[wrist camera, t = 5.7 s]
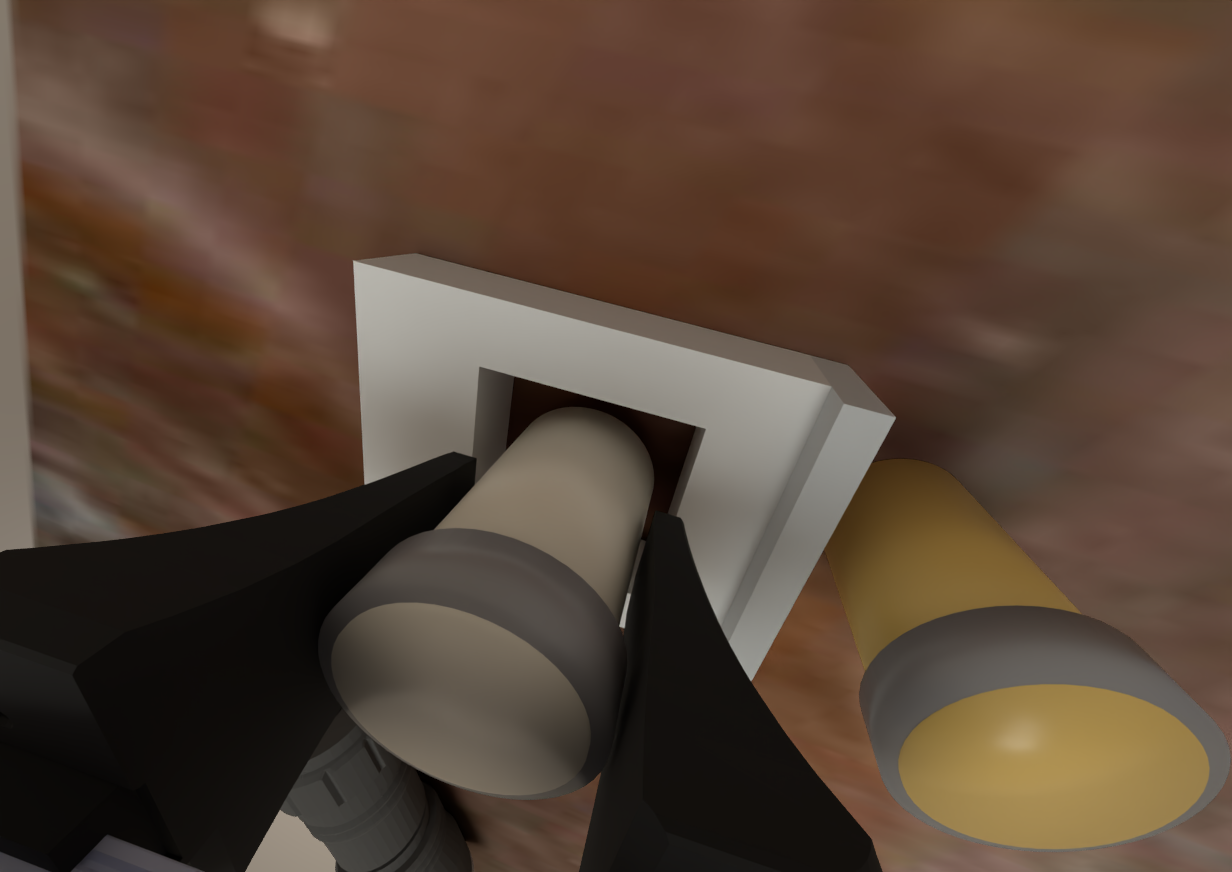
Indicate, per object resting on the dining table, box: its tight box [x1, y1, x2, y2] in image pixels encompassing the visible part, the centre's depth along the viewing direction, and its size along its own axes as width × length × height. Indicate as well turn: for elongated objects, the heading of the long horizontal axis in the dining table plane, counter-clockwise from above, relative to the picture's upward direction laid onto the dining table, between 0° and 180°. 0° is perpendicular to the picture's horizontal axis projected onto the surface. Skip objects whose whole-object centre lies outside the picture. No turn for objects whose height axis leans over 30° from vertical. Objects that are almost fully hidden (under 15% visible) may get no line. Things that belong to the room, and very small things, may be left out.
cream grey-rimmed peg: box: [318, 407, 654, 800], centre depth 10 cm, size 5×5×7 cm
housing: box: [353, 253, 896, 681], centre depth 14 cm, size 12×16×4 cm
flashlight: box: [280, 707, 474, 872], centre depth 22 cm, size 15×5×5 cm, turn 9°
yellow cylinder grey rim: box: [824, 459, 1231, 852], centre depth 10 cm, size 5×5×7 cm
